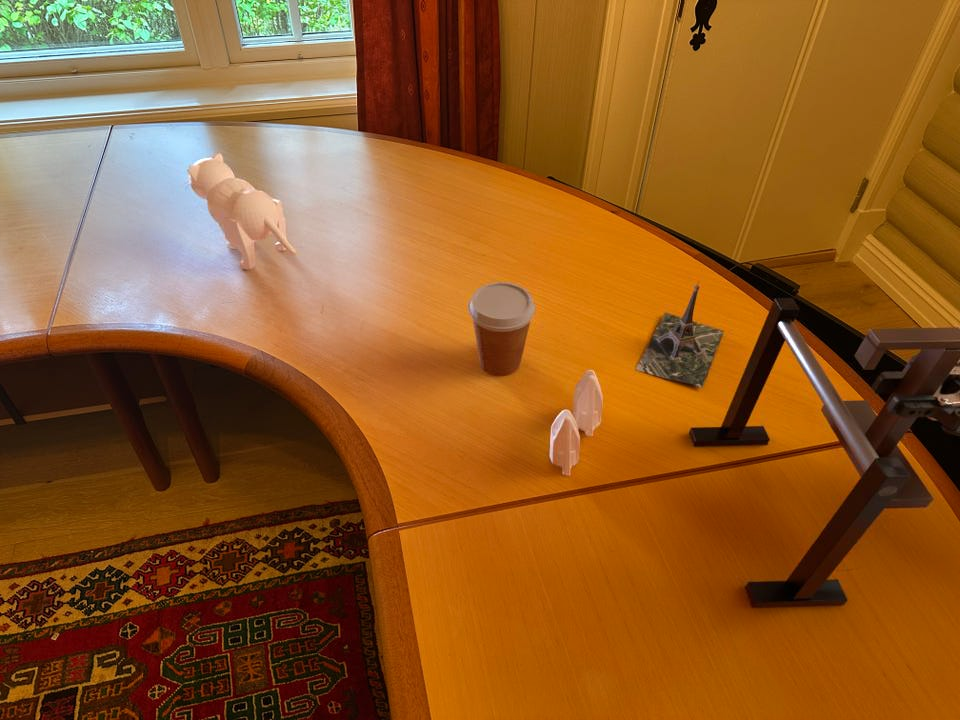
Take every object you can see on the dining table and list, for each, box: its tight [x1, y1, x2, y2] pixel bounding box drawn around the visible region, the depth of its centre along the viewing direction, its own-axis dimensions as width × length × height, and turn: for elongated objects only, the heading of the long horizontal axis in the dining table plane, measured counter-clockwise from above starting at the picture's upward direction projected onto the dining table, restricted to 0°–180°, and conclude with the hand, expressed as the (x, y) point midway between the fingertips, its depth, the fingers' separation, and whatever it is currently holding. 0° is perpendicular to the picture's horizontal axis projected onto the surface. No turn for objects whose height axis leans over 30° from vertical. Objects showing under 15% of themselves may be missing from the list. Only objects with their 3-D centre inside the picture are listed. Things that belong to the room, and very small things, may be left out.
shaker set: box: [548, 369, 604, 477], centre depth 78 cm, size 12×4×11 cm, turn 148°
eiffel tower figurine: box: [634, 280, 725, 388], centre depth 90 cm, size 15×10×13 cm
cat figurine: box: [180, 152, 298, 271], centre depth 110 cm, size 25×10×17 cm, turn 56°
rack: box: [688, 297, 911, 609], centre depth 66 cm, size 24×10×23 cm, turn 2°
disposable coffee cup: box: [467, 281, 536, 377], centre depth 89 cm, size 10×10×12 cm
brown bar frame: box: [820, 326, 960, 510], centre depth 62 cm, size 10×14×18 cm
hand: (884, 394), depth 61 cm, fingers closed on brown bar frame, 2 cm apart
